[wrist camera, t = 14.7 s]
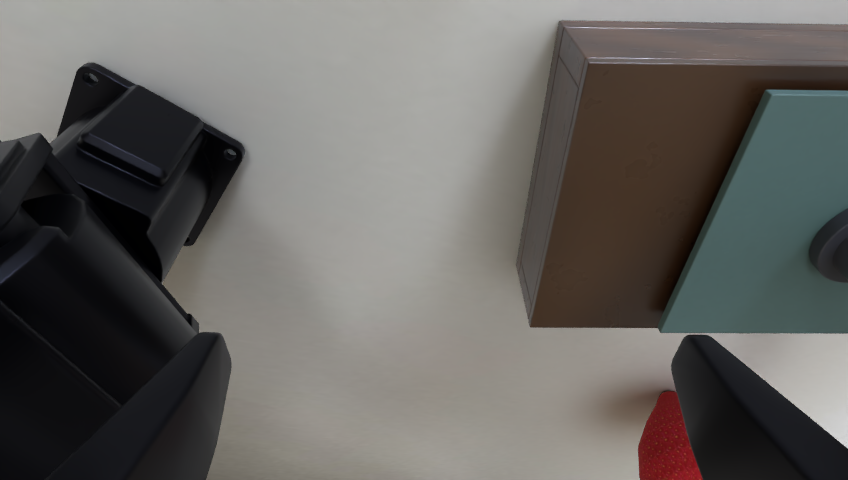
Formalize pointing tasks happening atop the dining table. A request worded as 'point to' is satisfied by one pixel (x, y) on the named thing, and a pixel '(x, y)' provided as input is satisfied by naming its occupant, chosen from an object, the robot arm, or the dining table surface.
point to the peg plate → (775, 227)
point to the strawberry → (666, 444)
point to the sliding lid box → (646, 154)
